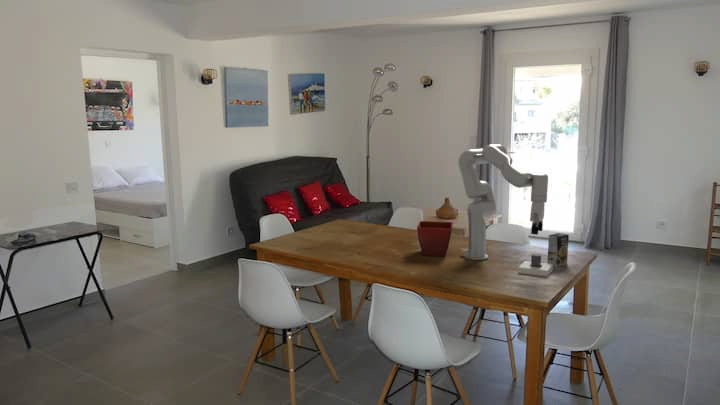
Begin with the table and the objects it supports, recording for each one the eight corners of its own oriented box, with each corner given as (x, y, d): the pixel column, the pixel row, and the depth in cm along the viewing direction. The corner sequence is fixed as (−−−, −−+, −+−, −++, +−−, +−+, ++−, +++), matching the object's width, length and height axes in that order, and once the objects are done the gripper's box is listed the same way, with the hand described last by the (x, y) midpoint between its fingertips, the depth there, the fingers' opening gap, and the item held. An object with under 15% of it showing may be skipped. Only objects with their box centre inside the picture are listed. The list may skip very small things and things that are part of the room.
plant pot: (450, 258, 308) (451, 228, 306) (416, 256, 312) (416, 227, 309) (452, 250, 327) (452, 222, 324) (419, 248, 330) (420, 221, 328)
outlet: (518, 272, 278) (518, 267, 278) (524, 266, 290) (525, 260, 290) (547, 276, 271) (547, 270, 271) (552, 269, 283) (553, 264, 283)
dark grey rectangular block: (530, 270, 280) (531, 255, 279) (532, 268, 284) (533, 253, 282) (539, 271, 278) (539, 256, 277) (540, 269, 282) (541, 254, 280)
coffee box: (557, 267, 289) (558, 236, 286) (546, 264, 294) (548, 234, 291) (567, 264, 294) (569, 234, 291) (557, 262, 299) (558, 232, 297)
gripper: (535, 195, 285) (533, 228, 287) (527, 200, 270) (525, 234, 273) (550, 196, 281) (548, 230, 284) (542, 201, 266) (540, 236, 269)
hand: (536, 232), depth 278 cm, fingers open, 9 cm apart
